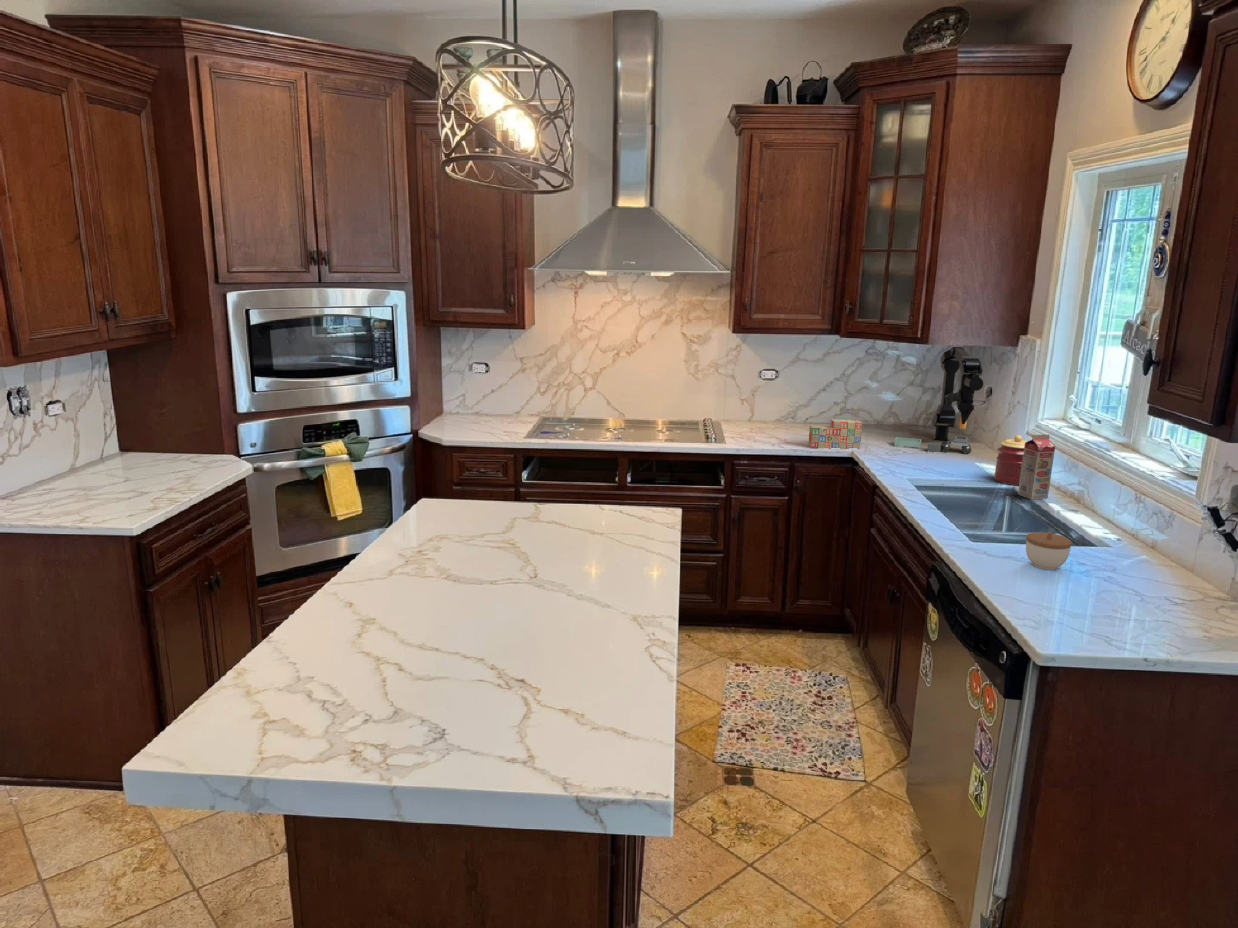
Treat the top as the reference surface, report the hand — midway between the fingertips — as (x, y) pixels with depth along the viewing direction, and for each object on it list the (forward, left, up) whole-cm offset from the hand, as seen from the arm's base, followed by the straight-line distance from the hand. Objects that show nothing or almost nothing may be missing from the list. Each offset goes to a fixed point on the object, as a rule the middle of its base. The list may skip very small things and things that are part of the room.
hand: (963, 423), depth 354 cm
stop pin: (0, 0, -2) cm, 2 cm away
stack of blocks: (+15, -52, -13) cm, 55 cm away
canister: (+46, +17, -13) cm, 51 cm away
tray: (-3, -22, -13) cm, 25 cm away
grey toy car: (0, -2, -13) cm, 13 cm away
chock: (+4, -11, -13) cm, 17 cm away
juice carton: (+66, +22, -13) cm, 71 cm away
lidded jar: (+142, +18, -13) cm, 144 cm away
